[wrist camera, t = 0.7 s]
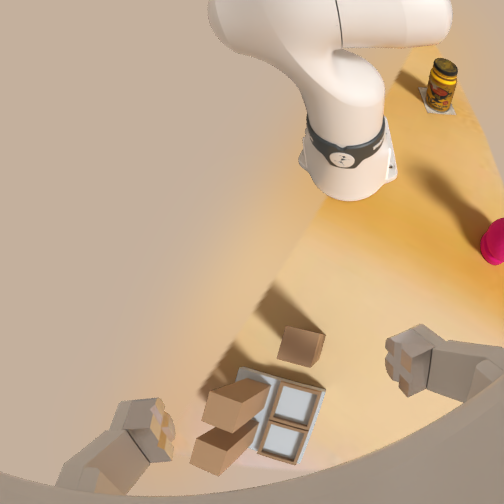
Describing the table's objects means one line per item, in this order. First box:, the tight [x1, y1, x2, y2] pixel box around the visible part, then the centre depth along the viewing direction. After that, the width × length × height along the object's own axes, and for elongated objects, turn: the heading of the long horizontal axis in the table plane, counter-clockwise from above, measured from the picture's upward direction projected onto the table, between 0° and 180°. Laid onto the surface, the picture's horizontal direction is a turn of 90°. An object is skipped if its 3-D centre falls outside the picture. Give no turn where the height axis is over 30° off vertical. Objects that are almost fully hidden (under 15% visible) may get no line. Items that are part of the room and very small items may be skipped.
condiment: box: [418, 58, 458, 115], centre depth 44 cm, size 7×8×12 cm
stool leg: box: [277, 326, 326, 368], centre depth 38 cm, size 4×4×14 cm
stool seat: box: [190, 367, 326, 476], centre depth 35 cm, size 13×14×16 cm
